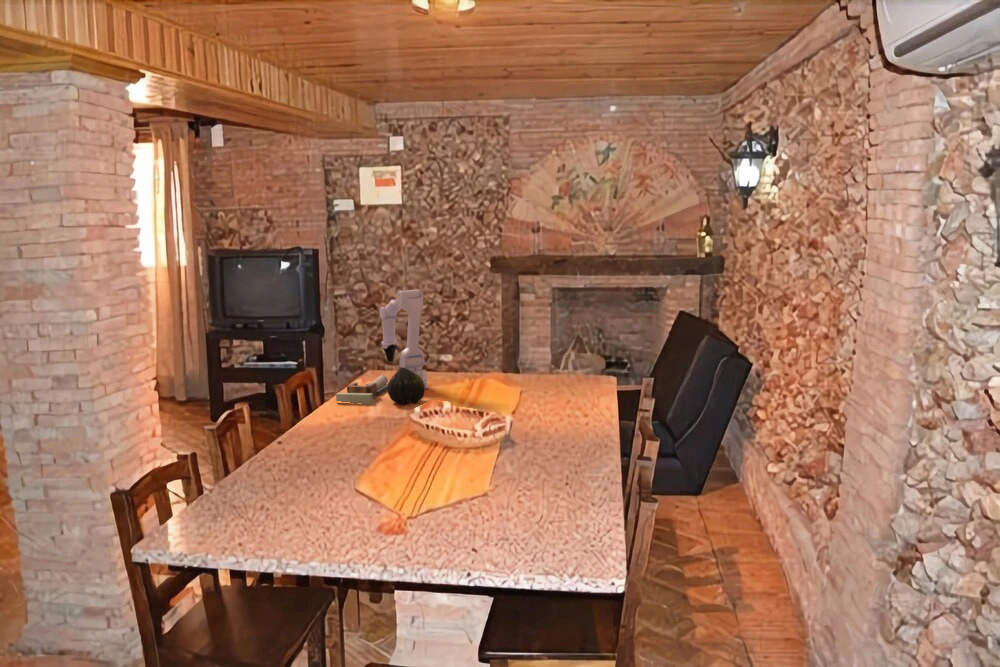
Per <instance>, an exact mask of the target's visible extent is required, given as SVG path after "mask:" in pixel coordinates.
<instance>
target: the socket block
mask: <svg viewBox="0 0 1000 667" xmlns="http://www.w3.org/2000/svg"><path fill="white" fill-rule="evenodd" d="M346 393H373V400H374V399H376V398H377V397H378V396H377V385H376V383H372V384H370V385H368V386H365V385H359V384H358V382H352V383H351V384H349V385H348V386H346ZM375 397H376V398H375Z"/></svg>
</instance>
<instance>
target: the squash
mask: <svg viewBox="0 0 1000 667" xmlns="http://www.w3.org/2000/svg"><path fill="white" fill-rule="evenodd" d="M387 384H388V391H387V394H388V396H389V398H390V400H391V401H392V402H394V403H395V404H397V405H402V404H405V403H407V402H408V403H411V404H418V403H419V402H420V401H421V400H422V399H423V398H424V397H425V396H424V395H425V391H426V389H425V385H424V382H423V380H422V379H421V377H420V376H418V375H417V374H415V373H414V372H412V371H410V370H408V369H406V368H403V367H402V368H401V367H400V368H399V369H398V370H397V371H396V372H395V373H394V374H393V375H392V376H391V378H390V379H389V381H388V383H387Z"/></svg>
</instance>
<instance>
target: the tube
mask: <svg viewBox="0 0 1000 667" xmlns="http://www.w3.org/2000/svg"><path fill="white" fill-rule="evenodd" d="M388 380H389V379H388V377H387V375H385V374H381V375H379V376H378V377H377V378H375V379H374V380H373V382H372V381H371V383H370V382H369V383H370V384H372V383H376V385H377V390H378V389H380V388H382V387H383V386H385V385H387V384H388V383H389V381H388ZM369 383H368V384H369ZM370 384H369V385H370ZM366 385H367V384H366ZM367 386H368V385H367Z"/></svg>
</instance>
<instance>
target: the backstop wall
mask: <svg viewBox="0 0 1000 667" xmlns="http://www.w3.org/2000/svg"><path fill="white" fill-rule="evenodd" d="M335 396H336V397H335V401H341V402H350V403H362V404H361V405H372V404H374V399H373V393H347V392H337V393H336V394H335Z"/></svg>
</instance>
